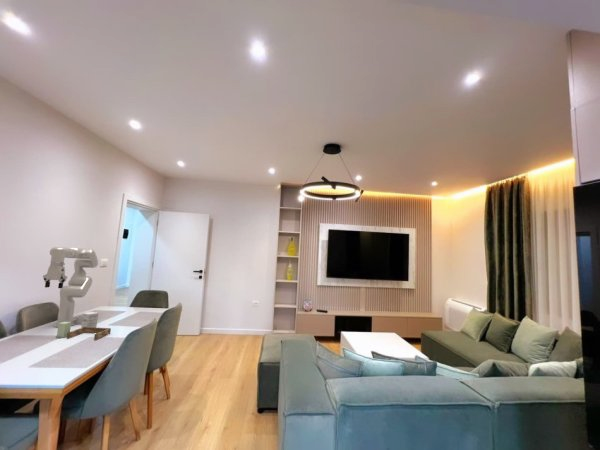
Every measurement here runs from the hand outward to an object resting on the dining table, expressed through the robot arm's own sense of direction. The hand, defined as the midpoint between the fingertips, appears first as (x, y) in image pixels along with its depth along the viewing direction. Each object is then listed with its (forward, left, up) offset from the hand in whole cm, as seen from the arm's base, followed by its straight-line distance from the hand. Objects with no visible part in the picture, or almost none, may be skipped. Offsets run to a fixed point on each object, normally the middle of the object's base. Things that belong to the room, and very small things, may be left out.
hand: (53, 287), depth 203 cm
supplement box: (-16, +18, -34) cm, 41 cm away
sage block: (+3, +14, -33) cm, 36 cm away
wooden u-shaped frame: (0, +30, -33) cm, 45 cm away
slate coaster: (+3, +14, -33) cm, 36 cm away
